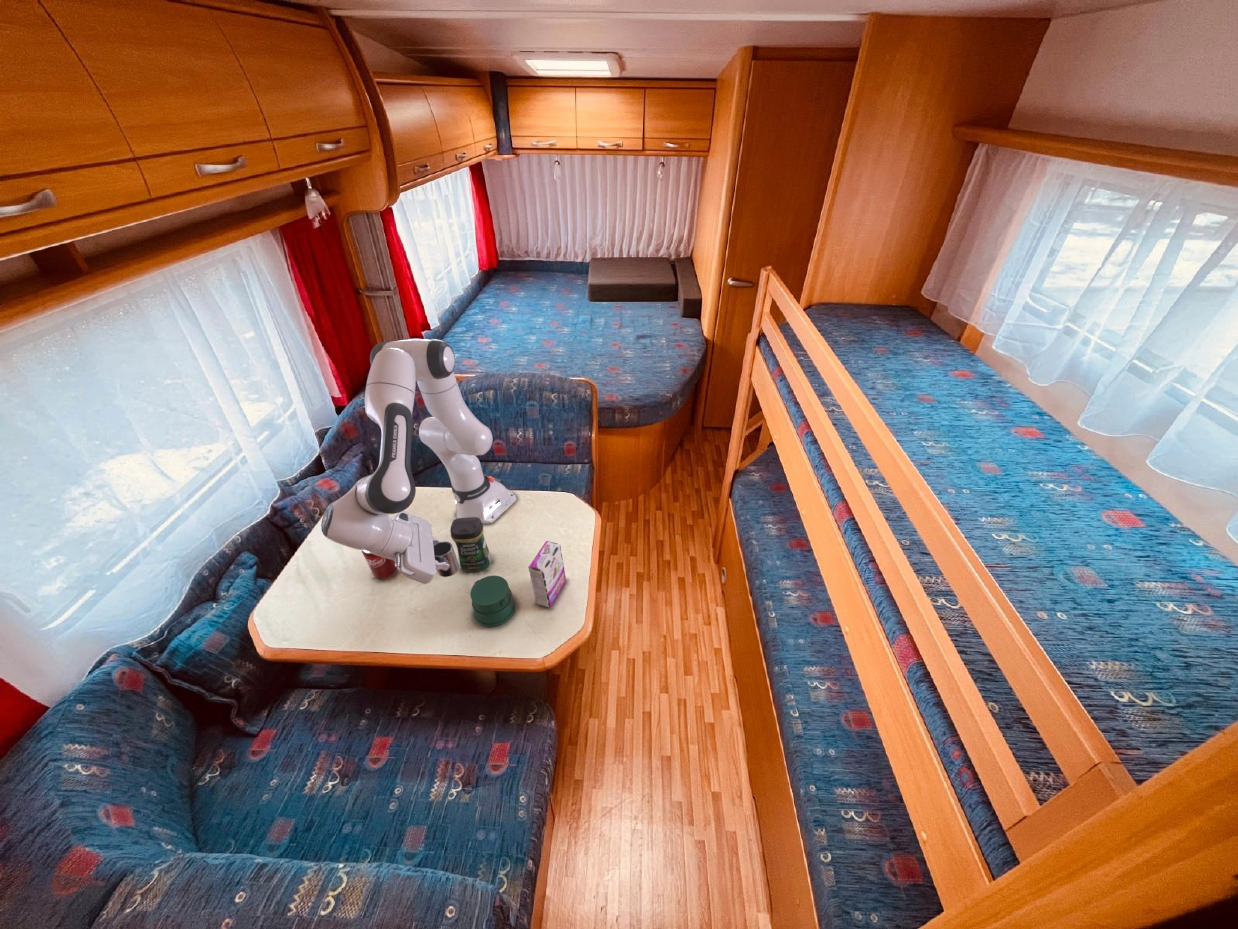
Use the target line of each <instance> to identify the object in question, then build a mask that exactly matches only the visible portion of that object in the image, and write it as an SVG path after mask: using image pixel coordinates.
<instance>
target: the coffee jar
mask: <svg viewBox="0 0 1238 929" xmlns="http://www.w3.org/2000/svg"><path fill="white" fill-rule="evenodd" d="M449 532H450V538H451V539H452V541H453V542H454V543H455V546H456V549H457V554H458V563H459V567H460V569H461V570H462V571H463V572H468V573H474V572H475V573H476V572H482V571H485V570H487V569H488V568H489V567H490V565H491V563H492V554H491V552H490V549H489V547H488V544H487V542H486V539H485V535H484V532H485V530H484V523H482V522H481V520H480V518H478V517H467V518H458V519H457V518H455V519H453V520H452V522H451V525H450V531H449Z"/></svg>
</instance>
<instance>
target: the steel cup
mask: <svg viewBox="0 0 1238 929" xmlns="http://www.w3.org/2000/svg"><path fill="white" fill-rule="evenodd" d="M434 556H435V560H436V561H438V563H441V562H443V561H447V562H449V565H450V567H449V569H448V570H446V571H445V570H441V569H440V570H436V573H437V574H438V575H439V576H440V577H443V578H447V577H451V576H454V575H455V574H457V572H458V570H459V569H460V563H459V560H458V559H457V555H456V552H455V550H454V546H453V543H452V542H450V541H444V540H443V541H441V542H439V543H437V544H435V545H434Z"/></svg>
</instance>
